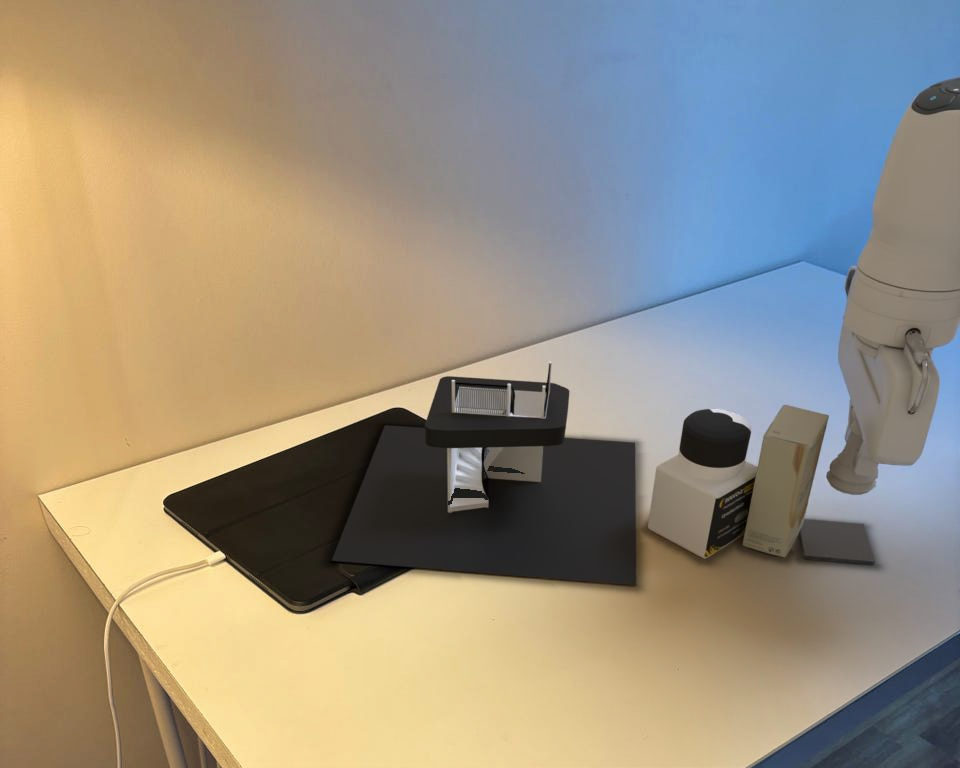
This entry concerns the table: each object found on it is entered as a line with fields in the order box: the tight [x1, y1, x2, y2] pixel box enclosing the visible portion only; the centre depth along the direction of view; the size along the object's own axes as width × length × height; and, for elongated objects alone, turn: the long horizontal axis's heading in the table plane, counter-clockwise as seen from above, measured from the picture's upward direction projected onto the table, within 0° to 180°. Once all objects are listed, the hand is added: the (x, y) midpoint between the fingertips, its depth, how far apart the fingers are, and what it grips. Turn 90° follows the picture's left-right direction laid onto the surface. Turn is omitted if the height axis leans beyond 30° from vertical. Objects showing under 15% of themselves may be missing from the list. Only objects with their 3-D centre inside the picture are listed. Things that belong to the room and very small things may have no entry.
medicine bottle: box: [647, 408, 758, 559], centre depth 92 cm, size 7×7×12 cm
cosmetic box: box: [742, 404, 830, 558], centre depth 91 cm, size 6×4×12 cm
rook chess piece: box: [825, 408, 879, 496], centre depth 88 cm, size 4×4×8 cm
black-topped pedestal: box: [331, 361, 637, 586], centre depth 96 cm, size 28×26×13 cm
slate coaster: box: [798, 518, 876, 566], centre depth 94 cm, size 6×6×1 cm
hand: (858, 458), depth 89 cm, fingers closed on rook chess piece, 3 cm apart
